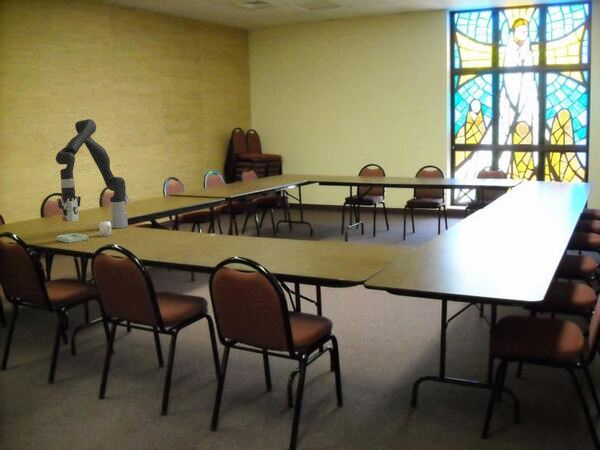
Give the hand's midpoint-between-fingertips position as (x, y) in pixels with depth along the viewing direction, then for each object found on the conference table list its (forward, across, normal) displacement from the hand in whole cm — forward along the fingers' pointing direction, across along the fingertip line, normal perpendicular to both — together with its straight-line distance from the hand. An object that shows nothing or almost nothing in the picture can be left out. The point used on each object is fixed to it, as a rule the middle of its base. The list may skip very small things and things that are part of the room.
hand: (70, 214), depth 384 cm
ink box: (+4, 0, 0) cm, 4 cm away
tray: (+15, 0, 0) cm, 15 cm away
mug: (+15, -21, +3) cm, 26 cm away
